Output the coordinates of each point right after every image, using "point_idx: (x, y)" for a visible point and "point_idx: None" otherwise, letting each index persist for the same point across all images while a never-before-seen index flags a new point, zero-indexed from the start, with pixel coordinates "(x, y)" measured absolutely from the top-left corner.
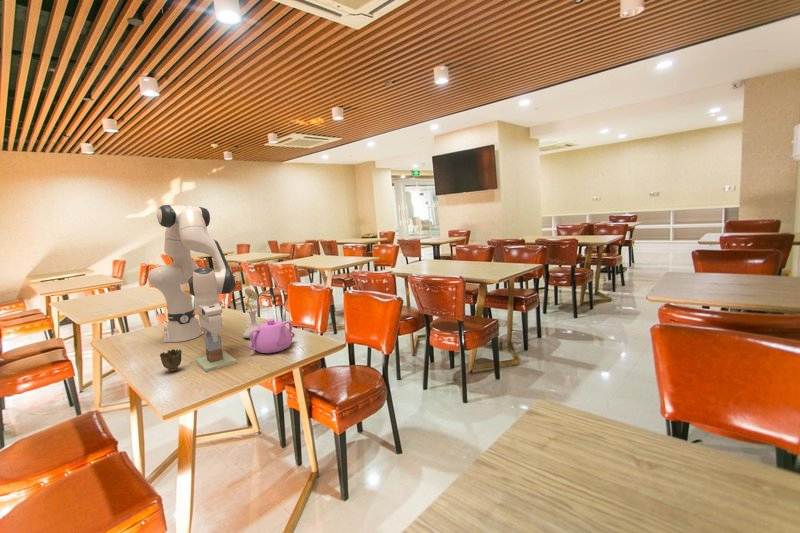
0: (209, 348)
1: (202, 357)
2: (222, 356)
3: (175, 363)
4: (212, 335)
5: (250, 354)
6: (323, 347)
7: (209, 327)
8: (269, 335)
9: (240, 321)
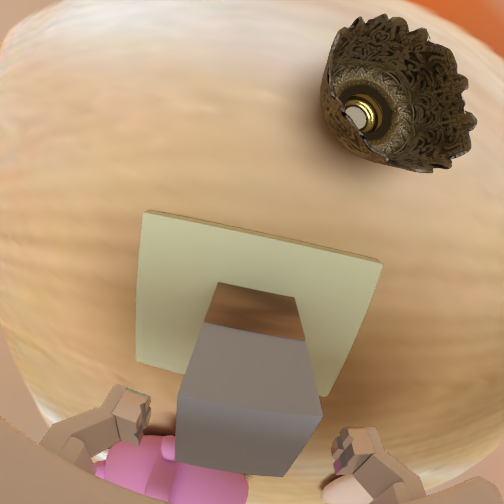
0: (198, 338)
1: (360, 300)
2: None
3: (320, 95)
4: (71, 426)
5: None
6: None
7: (10, 487)
8: None
9: (477, 455)
